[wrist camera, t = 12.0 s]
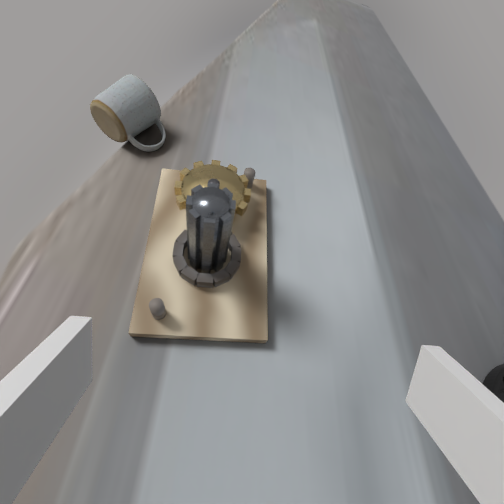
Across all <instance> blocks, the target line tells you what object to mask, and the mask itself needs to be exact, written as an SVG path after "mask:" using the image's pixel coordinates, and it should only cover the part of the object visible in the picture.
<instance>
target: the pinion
mask: <svg viewBox="0 0 504 504" xmlns="http://www.w3.org/2000/svg"><path fill="white" fill-rule="evenodd" d="M232 197H233V193H231V192H230V191H229V190H228V189H227V188H226V187H225V188H224V189H222V190H221V189H219V188H218V184H215V183H208V185H207V187H204V188H203V187H202V186H201V185H200V184H199V185H198V186H196V187H194V188H193V189H191V196H190V195H187V199H186V222H187V248H188V259H190V266H191V267H192V268H193V269H194V270H195V271H196V270H197V269H202V272H201V273H208V274H210V270H213V269H214V270H215V272H218V271H219V270H220V269H222V268H223V263H224V262H226V258H227V252H228V247H229V241H230V236H231V231H232V225H233V220H234V215H235V209H236V200H232Z"/></svg>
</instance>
